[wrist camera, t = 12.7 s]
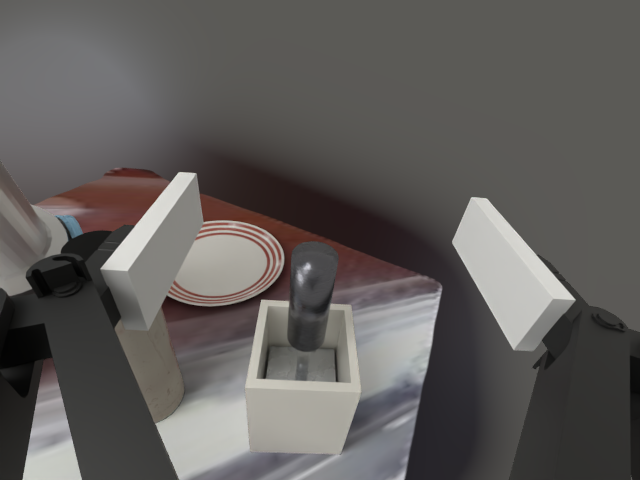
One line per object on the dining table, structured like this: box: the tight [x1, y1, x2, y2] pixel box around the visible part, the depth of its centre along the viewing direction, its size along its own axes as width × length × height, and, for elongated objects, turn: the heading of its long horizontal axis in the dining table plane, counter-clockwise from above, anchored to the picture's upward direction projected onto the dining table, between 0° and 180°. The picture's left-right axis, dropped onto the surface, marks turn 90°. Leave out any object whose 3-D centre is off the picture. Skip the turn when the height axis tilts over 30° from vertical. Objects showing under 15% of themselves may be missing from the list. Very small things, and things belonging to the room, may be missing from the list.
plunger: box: [266, 241, 338, 382], centre depth 36 cm, size 9×9×22 cm
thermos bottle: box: [61, 230, 185, 423], centre depth 38 cm, size 8×8×28 cm
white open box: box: [245, 300, 362, 454], centre depth 42 cm, size 12×12×16 cm
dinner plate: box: [167, 221, 284, 306], centre depth 69 cm, size 28×27×3 cm
